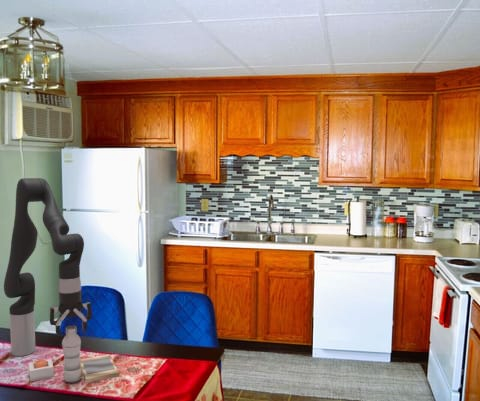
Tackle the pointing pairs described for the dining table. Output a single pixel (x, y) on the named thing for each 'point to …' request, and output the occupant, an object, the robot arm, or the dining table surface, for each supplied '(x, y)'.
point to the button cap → (40, 363)
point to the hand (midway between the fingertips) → (71, 333)
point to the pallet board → (98, 368)
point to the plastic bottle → (72, 355)
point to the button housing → (41, 371)
